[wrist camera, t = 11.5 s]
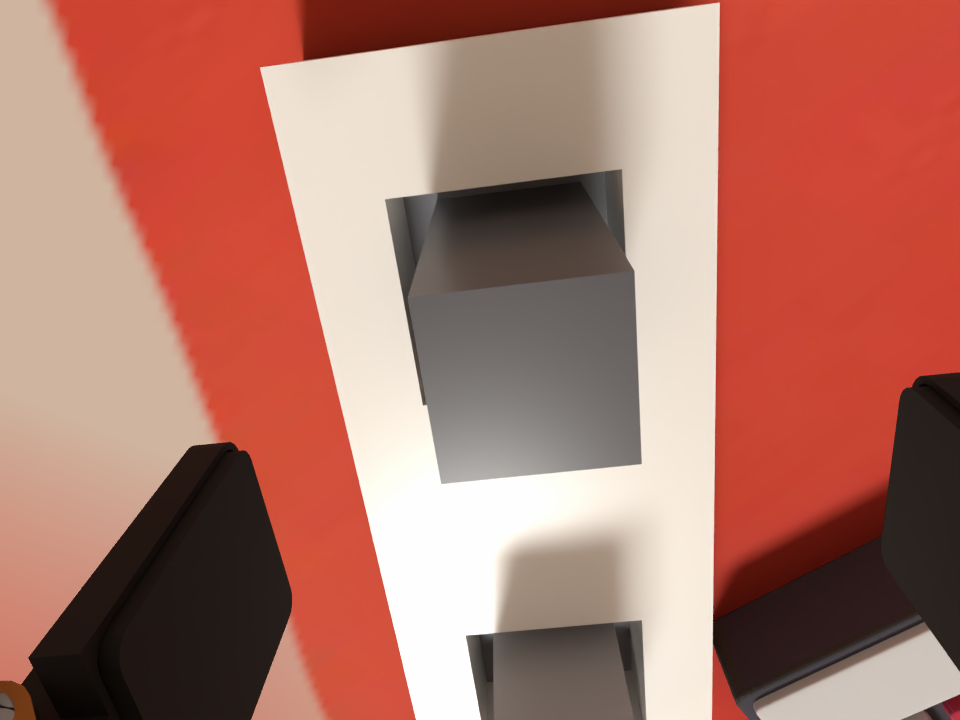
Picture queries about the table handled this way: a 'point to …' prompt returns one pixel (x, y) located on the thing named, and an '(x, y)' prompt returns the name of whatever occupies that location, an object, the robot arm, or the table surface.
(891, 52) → the table surface
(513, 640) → the grey square peg
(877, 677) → the calculator
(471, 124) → the power strip
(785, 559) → the table surface
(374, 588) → the table surface
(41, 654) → the robot arm
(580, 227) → the plug
